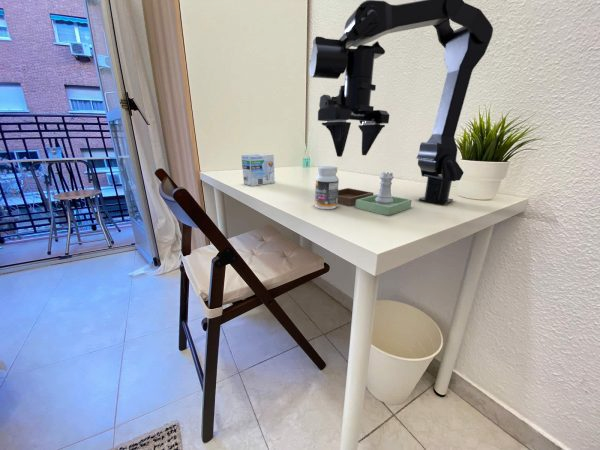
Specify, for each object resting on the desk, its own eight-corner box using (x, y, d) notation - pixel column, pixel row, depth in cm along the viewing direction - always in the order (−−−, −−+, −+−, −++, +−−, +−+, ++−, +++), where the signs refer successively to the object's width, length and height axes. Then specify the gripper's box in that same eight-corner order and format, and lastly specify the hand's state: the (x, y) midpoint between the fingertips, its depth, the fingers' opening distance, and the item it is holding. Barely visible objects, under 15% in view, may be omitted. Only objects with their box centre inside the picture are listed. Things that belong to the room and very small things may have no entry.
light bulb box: (252, 186, 89) (249, 155, 86) (242, 184, 94) (240, 155, 90) (275, 182, 96) (274, 154, 92) (265, 180, 101) (264, 153, 97)
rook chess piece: (378, 202, 64) (381, 171, 61) (395, 205, 61) (399, 172, 58) (371, 205, 61) (374, 173, 58) (389, 209, 58) (393, 175, 55)
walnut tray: (347, 194, 75) (347, 187, 75) (373, 199, 69) (373, 192, 68) (324, 199, 69) (324, 192, 69) (349, 206, 63) (350, 198, 62)
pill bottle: (310, 206, 63) (310, 167, 59) (326, 202, 66) (327, 165, 63) (326, 211, 58) (327, 169, 55) (342, 206, 62) (344, 167, 59)
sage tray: (378, 200, 67) (379, 193, 67) (410, 207, 61) (412, 199, 60) (355, 207, 61) (355, 199, 61) (388, 215, 55) (389, 207, 54)
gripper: (355, 90, 64) (350, 153, 69) (300, 79, 52) (300, 155, 57) (394, 84, 56) (385, 155, 61) (340, 69, 44) (335, 158, 49)
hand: (352, 155), depth 57 cm, fingers open, 9 cm apart
